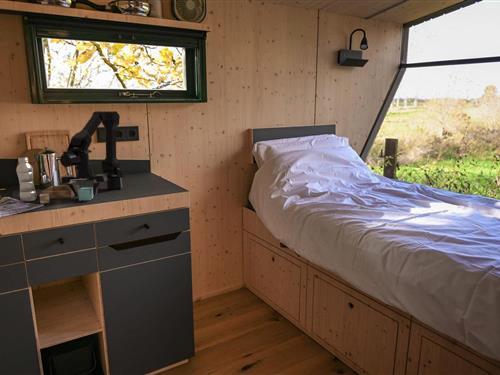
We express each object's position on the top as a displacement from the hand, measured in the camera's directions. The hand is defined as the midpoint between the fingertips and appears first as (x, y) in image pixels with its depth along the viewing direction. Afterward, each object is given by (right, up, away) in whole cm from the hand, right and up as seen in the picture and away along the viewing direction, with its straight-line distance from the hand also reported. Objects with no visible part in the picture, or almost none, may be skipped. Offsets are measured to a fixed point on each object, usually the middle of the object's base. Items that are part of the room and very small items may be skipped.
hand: (86, 196), depth 172 cm
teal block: (0, -1, 0) cm, 1 cm away
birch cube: (-16, -2, -5) cm, 17 cm away
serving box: (-15, 0, +7) cm, 17 cm away
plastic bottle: (-25, -2, -3) cm, 25 cm away
